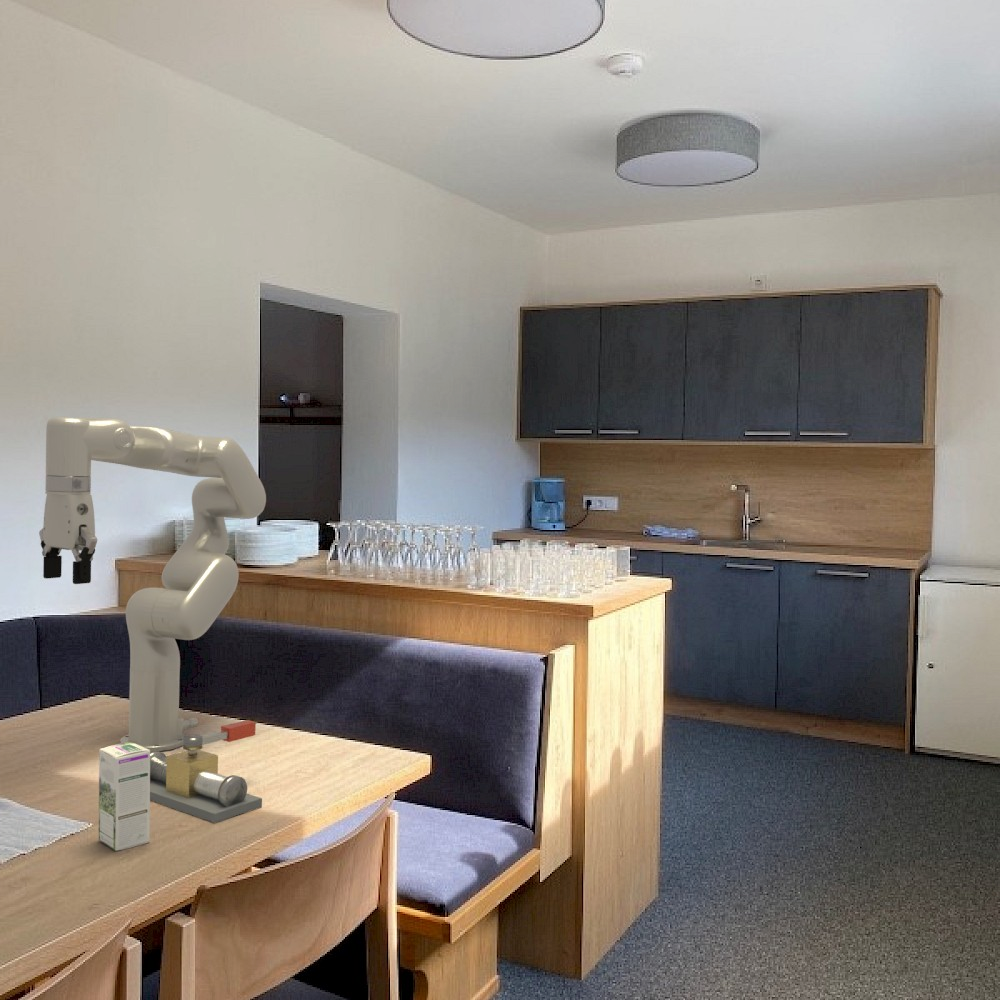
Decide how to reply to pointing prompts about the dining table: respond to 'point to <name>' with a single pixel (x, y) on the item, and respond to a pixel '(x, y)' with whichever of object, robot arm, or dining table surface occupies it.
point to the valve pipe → (197, 777)
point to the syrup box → (124, 795)
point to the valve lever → (219, 736)
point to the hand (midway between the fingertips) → (66, 580)
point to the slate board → (201, 803)
